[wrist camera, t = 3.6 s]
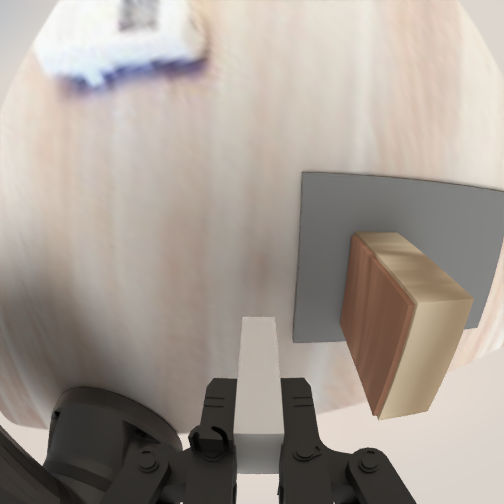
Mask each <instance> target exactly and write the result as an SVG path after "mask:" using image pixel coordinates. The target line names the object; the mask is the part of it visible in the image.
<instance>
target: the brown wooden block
mask: <svg viewBox="0 0 504 504" xmlns="http://www.w3.org/2000/svg"><path fill="white" fill-rule="evenodd" d="M473 300H474V298H473V297H472V296H471V295H470V294H469V293H468V292H466V291H465V290H464V289H463V288H462V287H461V286H460V285H459V284H458V283H457V282H456V281H454V280H453V279H452V278H451V277H450V276H449V275H448V274H447V273H446V272H444V271H443V270H442V269H441V268H440V267H439V266H438V265H436V264H435V263H434V262H433V261H432V260H431V259H429V258H428V257H427V256H426V255H425V254H423V253H422V252H421V251H420V250H419V249H417V248H416V247H415V246H414V245H413V244H411V243H410V242H409V241H408V240H406V239H405V238H404V237H403V236H402V235H400V234H399V233H398V232H368V231H356V233H355V235H352V237H351V247H350V255H349V264H348V272H347V279H346V287H345V294H344V300H343V307H342V313H341V319H340V326H341V329H342V332H343V334H344V337H345V339H346V342H347V345H348V347H349V350H350V353H351V355H352V358H353V361H354V363H355V366H356V369H357V372H358V374H359V377H360V380H361V383H362V386H363V388H364V391H365V394H366V397H367V400H368V403H369V405H370V408H371V411H372V414H373V416H375V415H377V418H378V420H383V419H389V418H394V417H401V416H406V415H411V414H416V413H421V412H426V411H428V409H429V407H430V405H431V403H432V401H433V399H434V397H435V395H436V393H437V391H438V389H439V387H440V385H441V383H442V381H443V378H444V376H445V374H446V372H447V370H448V367H449V365H450V363H451V360H452V358H453V356H454V353H455V351H456V348H457V346H458V343H459V341H460V338H461V335H462V333H463V330H464V327H465V324H466V322H467V319H468V316H469V313H470V310H471V307H472V304H473Z"/></svg>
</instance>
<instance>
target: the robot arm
mask: <svg viewBox="0 0 504 504" xmlns="http://www.w3.org/2000/svg"><path fill="white" fill-rule="evenodd" d="M188 439H189V442H190V446H191V447H190V448H188V449H186V450H184V451H182V450H183V448H182V443H181V441H180V438H179V437H178V435H177V434H176V432H175V431H174V430H173V429H172V428H171V427H170V426H169V425H168V424H167V423H166V422H165V421H164V420H163V419H161V418H160V417H159V416H157V415H156V414H155V413H153V412H152V411H150V410H148V409H147V408H145V407H143V406H142V405H140V404H138V403H136V402H134V401H132V400H130V399H127V398H125V397H123V396H120V395H117V394H115V393H112V392H108V391H105V390H100V389H95V388H87V387H79V388H73V389H69V390H67V391H66V392H64V393H63V394H62V395H61V397H60V399H59V400H58V402H57V404H56V405H55V407H54V409H53V412H52V416H51V424H50V431H49V440H48V449H47V457H46V460H45V462H44V464H43V466H41V465H40V464H39V463H38V462H37V461H36V460H35V459H34V458H32V457H31V456H30V455H29V454H28V453H27V452H26V451H25V450H24V449H23V448H22V447H21V446H20V445H19V444H18V443H17V442H16V441H15V440H14V439H13V438H12V437H11V436H10V435H9V434H8V433H7V432H6V431H5V430H4V429H3V428H2V426H1V425H0V504H180V502H183V504H236V495H237V483H236V479H237V473H240V474H241V473H242V474H279V487H278V493H277V495H279V504H333V502H334V503H335V504H416V502H415V500H414V499H413V497H412V496H411V494H410V492H409V491H408V489H407V488H406V486H405V485H404V483H403V482H402V480H401V478H400V477H399V475H398V474H397V472H396V470H395V469H394V467H393V466H392V464H391V463H390V461H389V459H388V458H387V456H386V455H385V454H384V453H383V452H382V451H380V450H378V449H375V448H362V449H359V450H358V451H356V452H354V453H353V454H349V453H342V452H337V451H334V450H331V449H329V448H327V447H326V446H325V445H324V444H323V443H322V441H321V440H320V437H319V433H318V427H317V421H316V415H315V409H314V403H313V399H312V392H311V386H310V385H309V384H308V383H307V381H306V380H305V379H304V378H280V368H279V356H278V343H277V331H276V319H275V317H242V329H241V341H240V354H239V367H238V379H227V378H213V380H212V381H211V382H210V383H209V385H208V386H207V389H206V395H205V400H204V407H203V411H202V417H201V423H200V425H198V426H196V427H195V428H194V429H193V430H192V431H191V432H190V434H189V436H188Z"/></svg>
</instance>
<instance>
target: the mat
mask: <svg viewBox="0 0 504 504" xmlns="http://www.w3.org/2000/svg"><path fill="white" fill-rule="evenodd" d="M356 231H368V232H398V233H399V234H400V235H402V236H403V237H404V238H405V239H406V240H408V241H409V242H410V243H411V244H413V245H414V246H415V247H416V248H417V249H419V250H420V251H421V252H422V253H423V254H425V255H426V256H427V257H428V258H429V259H431V260H432V261H433V262H434V263H435V264H436V265H438V266H439V267H440V268H441V269H442V270H443V271H444V272H446V273H447V274H448V275H449V276H450V277H451V278H452V279H453V280H454V281H456V282H457V283H458V284H459V285H460V286H461V287H462V288H463V289H464V290H465V291H466V292H468V293H469V294H470V295H471V296H472V297H473V298H474V300H473V304H472V307H471V310H470V313H469V316H468V319H467V322H466V324H465V327H464V329H471V328H477V327H478V324H479V322H480V319H481V316H482V313H483V310H484V307H485V304H486V301H487V298H488V295H489V292H490V288H491V285H492V282H493V278H494V275H495V271H496V267H497V263H498V259H499V255H500V251H501V247H502V242H503V238H504V192H503V191H497V190H491V189H484V188H478V187H471V186H464V185H457V184H449V183H441V182H433V181H424V180H415V179H405V178H394V177H382V176H369V175H355V174H337V173H316V172H302V192H301V217H300V238H299V256H298V272H297V287H296V301H295V315H294V327H293V343H312V342H337V341H346V339H345V337H344V334H343V332H342V329H341V326H340V319H341V313H342V307H343V300H344V294H345V287H346V279H347V272H348V264H349V255H350V247H351V237H352V235H355V233H356Z"/></svg>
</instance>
